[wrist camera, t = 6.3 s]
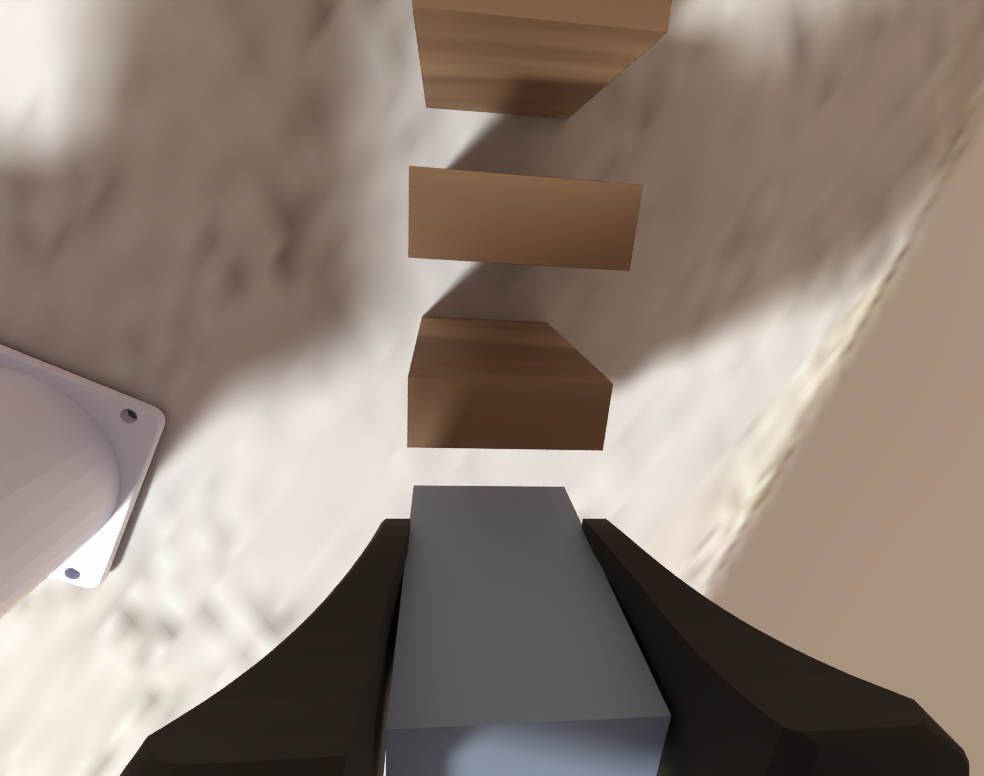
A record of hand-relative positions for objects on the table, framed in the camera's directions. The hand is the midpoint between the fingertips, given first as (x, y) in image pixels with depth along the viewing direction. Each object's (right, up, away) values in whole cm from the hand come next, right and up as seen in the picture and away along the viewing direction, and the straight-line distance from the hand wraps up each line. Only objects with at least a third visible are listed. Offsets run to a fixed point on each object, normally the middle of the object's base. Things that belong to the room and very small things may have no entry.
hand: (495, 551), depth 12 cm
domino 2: (0, +10, +3) cm, 10 cm away
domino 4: (0, +1, +2) cm, 2 cm away
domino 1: (0, +13, +2) cm, 14 cm away
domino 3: (0, +6, +5) cm, 8 cm away
